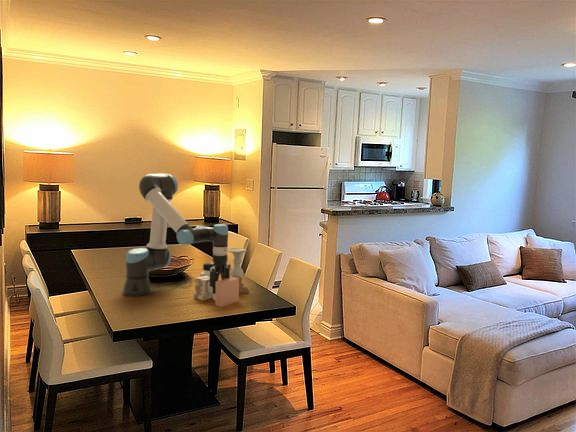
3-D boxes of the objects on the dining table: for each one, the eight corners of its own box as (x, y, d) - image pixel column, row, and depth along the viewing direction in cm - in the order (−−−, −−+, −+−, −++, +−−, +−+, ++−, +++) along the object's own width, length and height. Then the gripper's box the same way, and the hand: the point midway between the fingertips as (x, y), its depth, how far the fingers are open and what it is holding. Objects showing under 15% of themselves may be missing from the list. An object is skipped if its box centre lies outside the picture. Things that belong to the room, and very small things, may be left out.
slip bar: (203, 290, 260) (203, 281, 259) (210, 289, 264) (210, 279, 263) (224, 296, 251) (224, 286, 251) (231, 294, 255) (231, 284, 255)
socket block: (215, 305, 250) (215, 281, 248) (232, 299, 260) (233, 276, 259) (221, 306, 247) (221, 282, 246) (238, 301, 258) (239, 278, 256)
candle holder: (230, 295, 269) (231, 252, 267) (223, 290, 279) (224, 248, 276) (249, 293, 274) (250, 250, 272) (241, 288, 284) (242, 247, 281)
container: (212, 287, 284) (212, 265, 282) (199, 286, 285) (200, 264, 284) (217, 284, 291) (217, 262, 290) (204, 283, 293) (205, 261, 291)
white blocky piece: (193, 297, 261) (193, 278, 260) (207, 294, 269) (207, 275, 268) (202, 300, 257) (203, 280, 256) (216, 296, 265) (216, 277, 264)
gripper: (213, 257, 245) (212, 303, 247) (237, 253, 259) (236, 296, 262) (202, 255, 249) (201, 300, 252) (227, 251, 264) (226, 293, 266)
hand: (219, 298), depth 257 cm, fingers closed on slip bar, 5 cm apart
